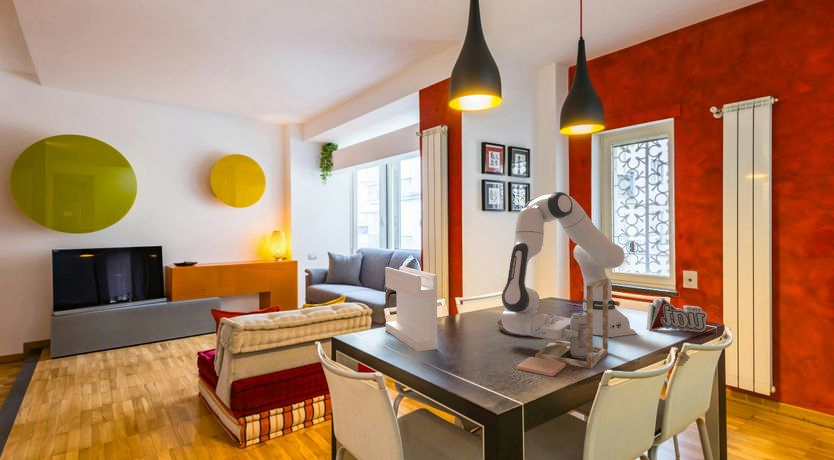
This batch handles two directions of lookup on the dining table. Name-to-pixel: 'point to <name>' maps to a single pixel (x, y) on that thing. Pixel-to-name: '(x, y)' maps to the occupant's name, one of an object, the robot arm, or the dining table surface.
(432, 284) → the block
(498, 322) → the plant saucer
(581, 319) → the energy drink can
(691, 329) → the decorative sign
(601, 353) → the birch rack
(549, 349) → the beige rectangular tray
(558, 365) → the terracotta tile
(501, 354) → the dining table surface
